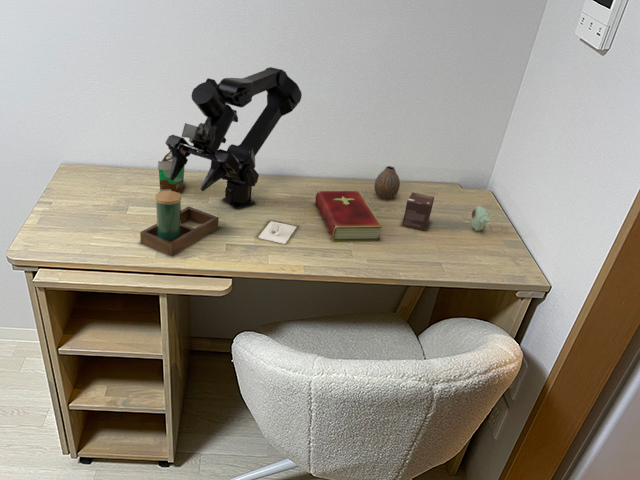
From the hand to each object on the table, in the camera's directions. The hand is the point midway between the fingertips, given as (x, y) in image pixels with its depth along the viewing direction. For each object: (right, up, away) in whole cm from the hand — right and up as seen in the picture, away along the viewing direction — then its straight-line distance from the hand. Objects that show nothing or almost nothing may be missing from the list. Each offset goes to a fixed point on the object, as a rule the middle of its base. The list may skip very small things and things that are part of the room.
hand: (186, 185), depth 144 cm
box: (+59, -7, +17) cm, 62 cm away
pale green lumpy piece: (+74, -9, +15) cm, 76 cm away
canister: (-4, -13, +2) cm, 14 cm away
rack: (-2, -11, +5) cm, 13 cm away
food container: (-5, +4, +28) cm, 29 cm away
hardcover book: (+40, -7, +16) cm, 44 cm away
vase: (+54, +2, +30) cm, 62 cm away
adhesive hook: (+22, -10, +9) cm, 26 cm away
